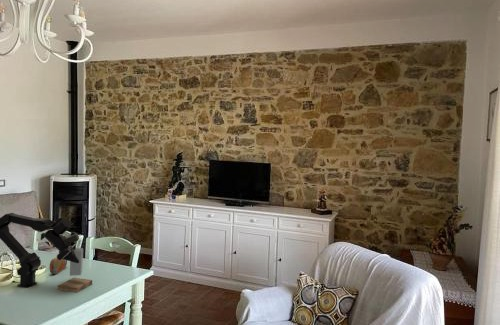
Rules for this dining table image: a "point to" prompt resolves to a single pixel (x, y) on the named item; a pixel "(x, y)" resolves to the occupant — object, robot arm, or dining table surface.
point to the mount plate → (75, 284)
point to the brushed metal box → (77, 267)
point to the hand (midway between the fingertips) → (79, 260)
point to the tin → (57, 265)
